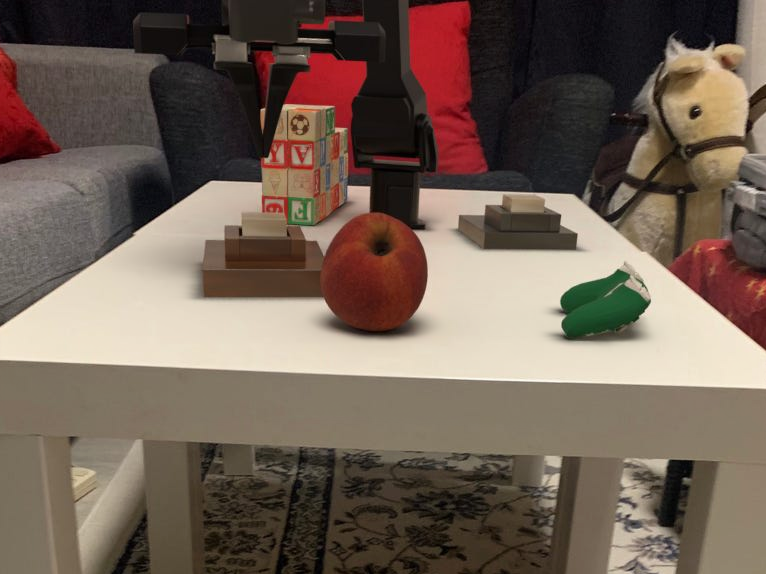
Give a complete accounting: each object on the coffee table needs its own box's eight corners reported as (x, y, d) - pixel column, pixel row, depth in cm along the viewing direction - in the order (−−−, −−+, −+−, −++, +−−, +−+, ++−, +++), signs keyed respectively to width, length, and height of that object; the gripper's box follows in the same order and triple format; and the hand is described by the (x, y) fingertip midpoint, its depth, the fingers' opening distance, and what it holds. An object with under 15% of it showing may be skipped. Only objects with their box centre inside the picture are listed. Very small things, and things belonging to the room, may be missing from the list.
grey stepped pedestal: (457, 230, 107) (459, 198, 106) (541, 231, 109) (544, 199, 107) (483, 249, 97) (486, 214, 95) (576, 250, 98) (580, 215, 97)
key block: (206, 264, 85) (204, 219, 83) (316, 265, 86) (317, 220, 85) (203, 297, 73) (201, 245, 71) (330, 297, 75) (331, 246, 73)
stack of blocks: (302, 199, 127) (302, 100, 121) (348, 201, 126) (350, 103, 121) (261, 222, 107) (259, 107, 102) (314, 225, 107) (315, 109, 101)
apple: (314, 340, 63) (314, 218, 60) (326, 312, 70) (327, 202, 67) (424, 345, 63) (430, 223, 59) (425, 317, 70) (431, 206, 66)
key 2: (501, 210, 101) (502, 194, 100) (533, 211, 102) (535, 194, 101) (510, 215, 98) (511, 198, 97) (543, 216, 98) (545, 199, 98)
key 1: (241, 233, 80) (241, 212, 79) (284, 233, 80) (284, 212, 79) (242, 240, 76) (242, 218, 76) (286, 241, 77) (286, 219, 76)
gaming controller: (590, 367, 66) (662, 312, 63) (556, 326, 65) (628, 269, 63) (585, 333, 74) (649, 284, 72) (555, 297, 73) (619, 246, 71)
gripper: (117, -88, 61) (136, 166, 67) (401, -72, 63) (392, 171, 70) (132, -68, 70) (147, 151, 77) (377, -55, 73) (372, 156, 80)
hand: (263, 157), depth 76 cm, fingers closed
